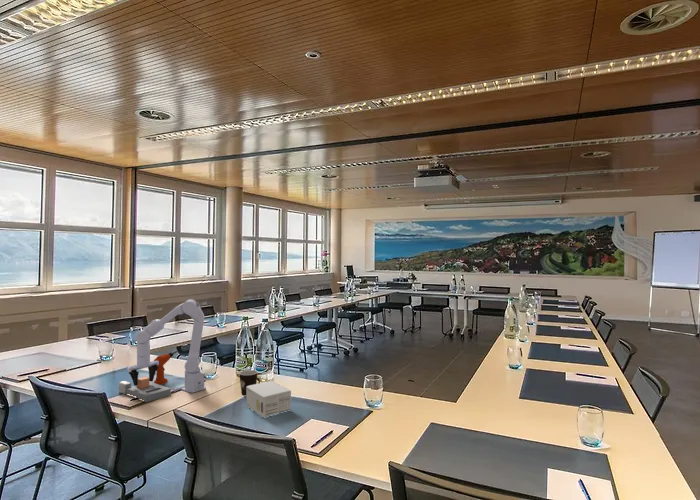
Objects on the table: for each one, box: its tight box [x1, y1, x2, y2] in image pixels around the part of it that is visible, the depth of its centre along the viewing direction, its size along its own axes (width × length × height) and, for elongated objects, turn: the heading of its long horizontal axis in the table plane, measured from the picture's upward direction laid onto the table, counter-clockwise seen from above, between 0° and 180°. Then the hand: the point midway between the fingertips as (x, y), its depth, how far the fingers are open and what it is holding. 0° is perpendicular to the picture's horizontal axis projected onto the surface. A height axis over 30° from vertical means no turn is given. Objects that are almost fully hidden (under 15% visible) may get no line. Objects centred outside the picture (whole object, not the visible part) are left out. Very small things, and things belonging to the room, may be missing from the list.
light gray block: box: [118, 380, 132, 395], centre depth 199 cm, size 6×3×5 cm, turn 55°
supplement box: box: [245, 380, 292, 417], centre depth 179 cm, size 17×13×9 cm
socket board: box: [126, 381, 172, 403], centre depth 196 cm, size 18×12×3 cm, turn 55°
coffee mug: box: [238, 369, 261, 396], centre depth 197 cm, size 12×9×10 cm
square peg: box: [137, 376, 150, 389], centre depth 199 cm, size 4×4×7 cm
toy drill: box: [153, 350, 179, 386], centre depth 218 cm, size 5×19×15 cm, turn 166°
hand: (143, 383), depth 199 cm, fingers open, 7 cm apart
